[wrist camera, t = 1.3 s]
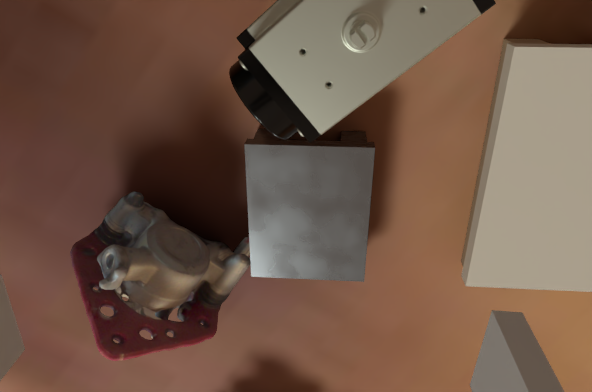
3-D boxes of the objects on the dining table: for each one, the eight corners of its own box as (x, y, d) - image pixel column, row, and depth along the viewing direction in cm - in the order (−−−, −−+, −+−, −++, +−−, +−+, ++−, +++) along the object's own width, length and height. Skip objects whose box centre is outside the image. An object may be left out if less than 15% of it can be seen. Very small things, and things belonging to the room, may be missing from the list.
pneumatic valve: (460, -30, 26) (545, -23, 16) (300, 98, 30) (282, 173, 20) (404, -119, 25) (458, -179, 14) (243, 29, 29) (189, 69, 18)
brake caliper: (52, 285, 36) (10, 312, 24) (138, 169, 38) (136, 144, 27) (178, 357, 38) (193, 412, 27) (251, 244, 41) (292, 250, 29)
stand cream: (497, 38, 28) (514, 46, 25) (672, 40, 27) (710, 49, 25) (455, 261, 35) (465, 286, 32) (594, 267, 34) (615, 292, 32)
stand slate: (252, 128, 31) (244, 144, 29) (371, 131, 31) (374, 147, 28) (257, 253, 36) (251, 276, 33) (361, 257, 35) (364, 281, 33)
